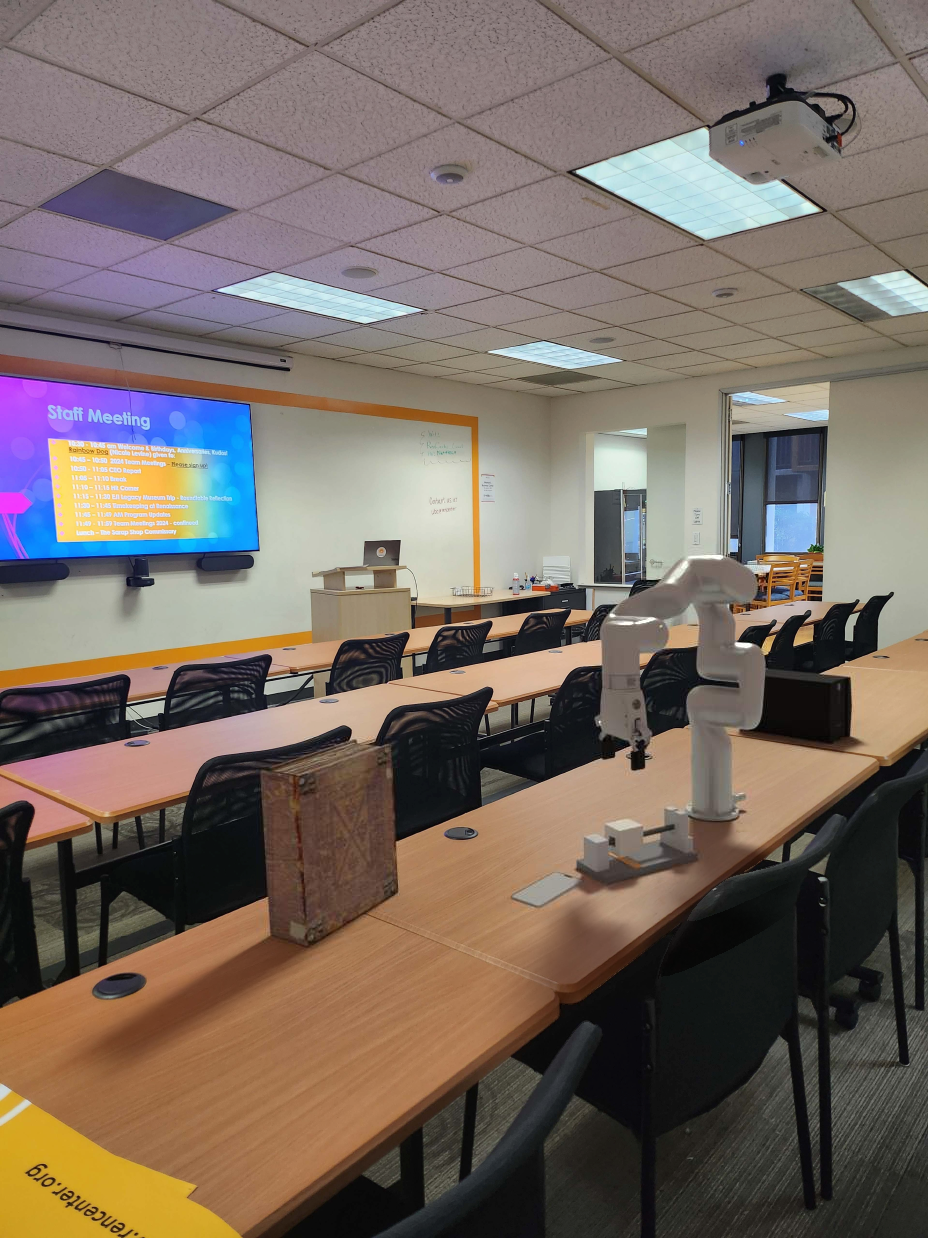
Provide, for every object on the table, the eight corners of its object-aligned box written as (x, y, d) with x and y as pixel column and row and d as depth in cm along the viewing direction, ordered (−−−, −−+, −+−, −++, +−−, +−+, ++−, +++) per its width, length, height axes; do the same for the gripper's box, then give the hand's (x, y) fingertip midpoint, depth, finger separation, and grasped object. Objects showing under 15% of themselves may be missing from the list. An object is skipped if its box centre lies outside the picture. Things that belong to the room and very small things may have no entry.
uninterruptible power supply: (829, 745, 258) (829, 683, 256) (733, 729, 283) (733, 673, 281) (851, 735, 268) (852, 676, 266) (757, 721, 294) (757, 667, 292)
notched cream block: (628, 844, 170) (627, 818, 170) (643, 852, 166) (643, 825, 165) (605, 850, 168) (604, 823, 167) (620, 857, 163) (619, 831, 163)
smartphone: (508, 896, 154) (554, 871, 165) (508, 900, 155) (554, 874, 166) (539, 907, 149) (585, 880, 160) (539, 910, 150) (585, 883, 160)
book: (363, 883, 164) (356, 738, 161) (399, 892, 159) (392, 743, 156) (269, 936, 143) (259, 770, 140) (307, 948, 137) (297, 777, 135)
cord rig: (666, 844, 178) (665, 802, 178) (698, 859, 170) (697, 815, 169) (576, 867, 168) (575, 823, 167) (605, 884, 159) (604, 837, 158)
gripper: (664, 685, 157) (665, 771, 159) (610, 674, 173) (611, 752, 175) (633, 690, 154) (635, 777, 156) (581, 678, 170) (583, 757, 171)
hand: (622, 764), depth 165 cm, fingers open, 9 cm apart
